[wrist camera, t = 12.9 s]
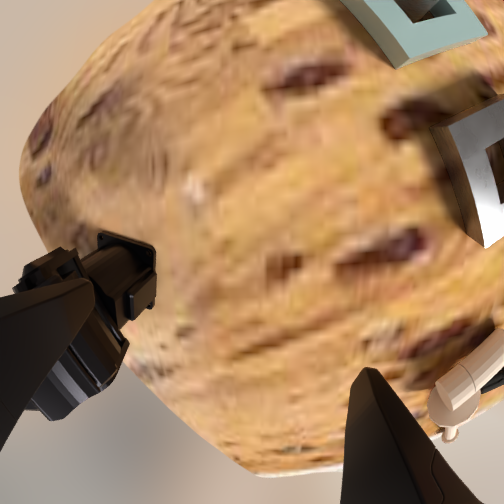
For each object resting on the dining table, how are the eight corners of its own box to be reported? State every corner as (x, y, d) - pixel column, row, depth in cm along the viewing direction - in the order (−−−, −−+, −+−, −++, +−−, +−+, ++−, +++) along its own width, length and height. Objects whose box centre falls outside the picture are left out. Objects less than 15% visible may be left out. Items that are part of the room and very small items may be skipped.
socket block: (466, 234, 16) (485, 248, 14) (428, 127, 14) (447, 126, 12) (528, 192, 13) (548, 200, 10) (497, 94, 11) (518, 91, 8)
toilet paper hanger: (412, 377, 21) (442, 424, 15) (488, 315, 20) (524, 349, 13) (424, 433, 28) (439, 462, 22) (477, 393, 27) (495, 419, 20)
